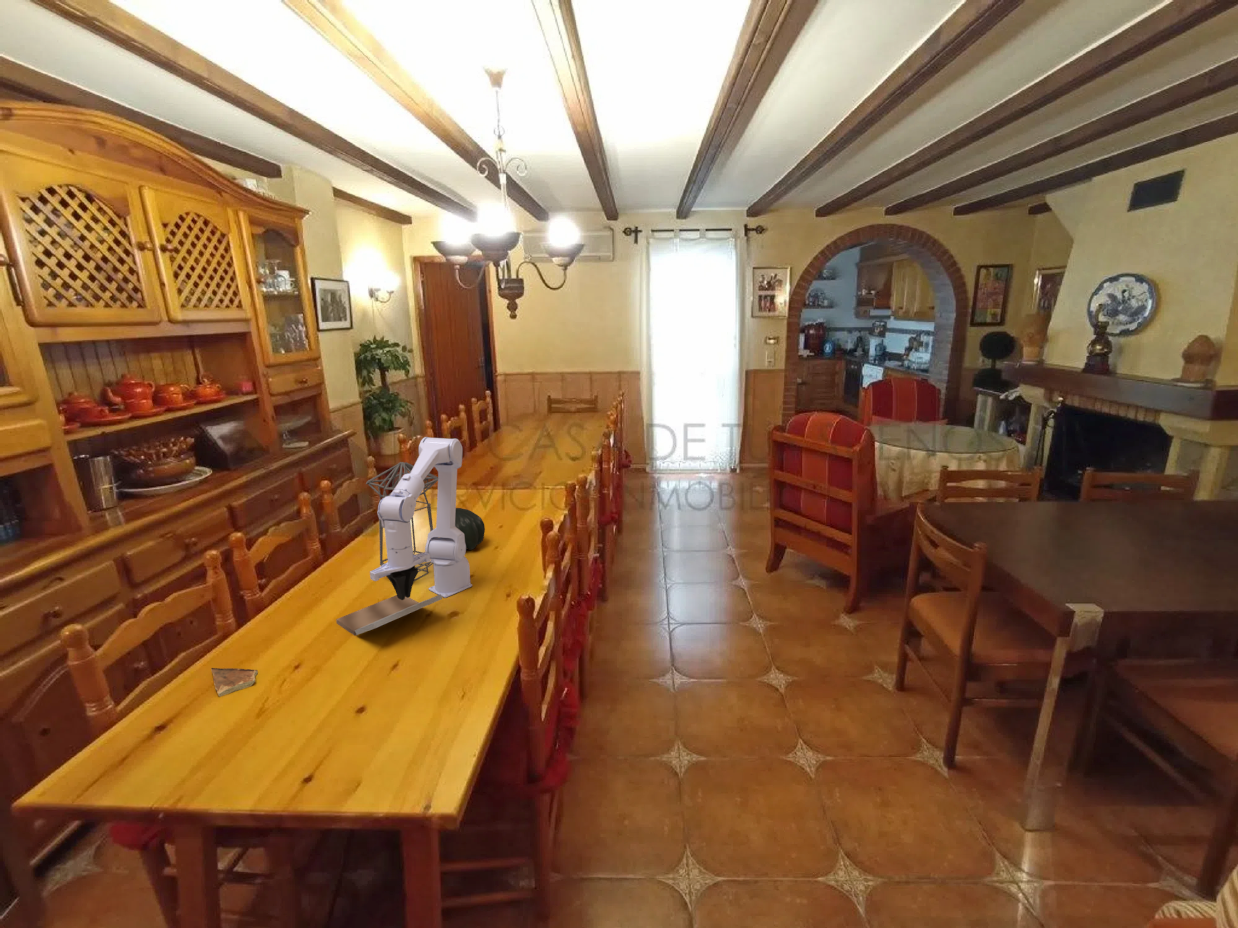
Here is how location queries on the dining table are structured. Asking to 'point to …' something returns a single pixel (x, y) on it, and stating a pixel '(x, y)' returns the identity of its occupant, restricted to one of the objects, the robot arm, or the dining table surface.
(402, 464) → the geometric lantern
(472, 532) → the squash
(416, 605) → the grey plank
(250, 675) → the shard
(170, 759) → the dining table surface
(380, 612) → the walnut board
